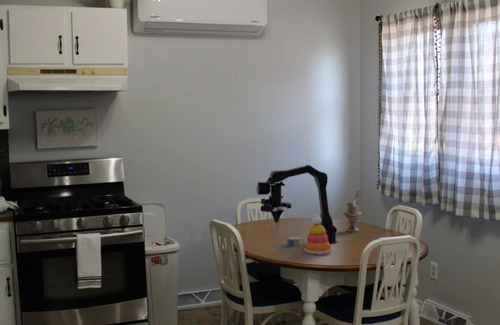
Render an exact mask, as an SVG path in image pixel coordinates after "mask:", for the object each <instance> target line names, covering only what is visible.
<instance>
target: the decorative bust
mask: <svg viewBox="0 0 500 325" xmlns="http://www.w3.org/2000/svg"><path fill="white" fill-rule="evenodd" d="M359 193H360V190H357V191H356V193H355V195H354V200H353V201H352V200H350V201H349V202H346V209H345V211H344V212H343V213H342V215H343V216H344V217H346V218H347V220H348V224H349V227H347V228H346V231H347V232H349V231H357V232H359V231H360V230H359V228H357V227H356V224H357V222H358V221H359V219H360V216H362V212H361V211H359V208H358V205H359V202H360V201H361V200H360V199H358V198H359V197H361V196H362V194H363V193H362V192H361V193H360V194H359Z"/></svg>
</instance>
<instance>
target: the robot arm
mask: <svg viewBox="0 0 500 325" xmlns="http://www.w3.org/2000/svg"><path fill="white" fill-rule="evenodd" d="M303 174H308V175H310V176H312V177H313V180H314V182H315V185H316V187H317V191H318V201H319V209H320V214H319V216H320V217H321V220H322V221H321V223H320V225H322V226H323V227H324V228H325V230H326V234H327V236H328V242H329V243H330V245H331V244H332V245H333V244H335V243H336V244H337V243H338V241H337V239H336V237H337V236H336V234H337V232H338V231H337V230H338V228H337V227H336V226H335V225H334V223H333V218H332V217H331V214H330V210H329V202H328V195H327V186H328V174H327V173H326V172H323V171H319V170H318V169H316V168H314V167H313V166H312V165H310V164H306V165H303V166H299V167H293V168H289V169H285V170H282V169H280V170H279V169H278V170H273V171H271V172H270V173H269V177H268V179H266V181H262V182H261V181H258V182H257V184H256V194H257V196H260V195H269V194H270V195H269V196H268V198H266V197H263V198H260V199H261V200H260V203H261V206H260V212H265V213H271V215H272V218H273V222H274V223H277V224H278V222H279V220H280V218H281V216H282V214H283V212H284V211H285V209H283V208H286V209H291V208H292V204H291V202H288V201H287V202H285V201H282V199H284V195H282V187H284V186H286V184H284V182H283V181H285V180H286V179H288V178H291V177H295V176H299V175H303Z"/></svg>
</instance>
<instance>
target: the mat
mask: <svg viewBox="0 0 500 325" xmlns="http://www.w3.org/2000/svg"><path fill="white" fill-rule="evenodd" d="M306 243H307V242H304V244H302V245H298V246H289V245H287V243H284V244H278V245H275V246H272V248H274V249H277V250H278V249H279V250H282V251H288V250H289V251H290V250H293V249H296V248H302V247H304V246H306Z"/></svg>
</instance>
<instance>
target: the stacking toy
mask: <svg viewBox="0 0 500 325" xmlns="http://www.w3.org/2000/svg"><path fill="white" fill-rule="evenodd" d="M321 221H322V220H321V217H320V214H319V215H318V214H314V216H313V217H312V223H313V224H312V225H311V226H310V228H309V230H308V235H307V239H306V240H307V242H305V243H306V245H305V247H304V248H303V250H304V251H305V253H306V254H310V255H318V256H322V255H326V254H329V253H331V252H332V250H333V248H332V246H331V244H330V243H329V242H328V236H327V234H326V230H325V228H324V227H323V226H322V225H320V223H321Z"/></svg>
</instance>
